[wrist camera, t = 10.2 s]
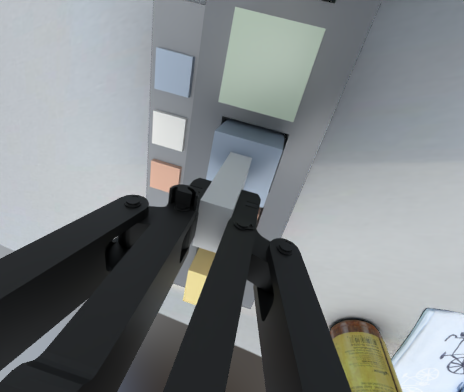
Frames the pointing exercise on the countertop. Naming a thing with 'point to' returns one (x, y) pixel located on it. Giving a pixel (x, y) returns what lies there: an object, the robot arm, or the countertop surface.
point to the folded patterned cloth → (433, 354)
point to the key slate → (248, 153)
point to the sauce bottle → (364, 357)
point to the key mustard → (197, 275)
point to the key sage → (268, 63)
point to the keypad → (216, 113)
